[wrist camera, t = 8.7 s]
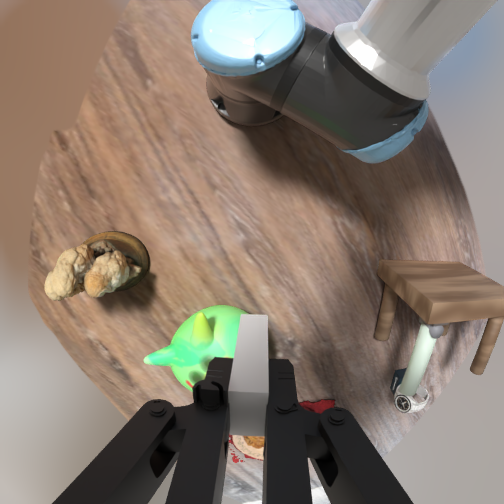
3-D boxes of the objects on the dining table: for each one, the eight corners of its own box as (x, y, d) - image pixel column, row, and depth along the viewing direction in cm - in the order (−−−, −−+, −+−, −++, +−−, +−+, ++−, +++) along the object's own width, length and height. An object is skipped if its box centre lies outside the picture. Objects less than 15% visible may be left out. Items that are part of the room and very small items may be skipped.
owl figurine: (86, 294, 55) (39, 331, 38) (69, 241, 52) (14, 265, 35) (157, 283, 53) (118, 325, 37) (140, 222, 50) (91, 243, 34)
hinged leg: (417, 312, 36) (431, 326, 32) (433, 311, 36) (448, 324, 32) (395, 383, 39) (404, 400, 35) (410, 381, 39) (420, 397, 35)
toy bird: (222, 379, 58) (212, 429, 44) (160, 330, 56) (133, 372, 41) (284, 329, 54) (290, 377, 40) (218, 270, 52) (202, 305, 38)
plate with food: (218, 402, 61) (216, 413, 58) (334, 396, 59) (336, 406, 55) (233, 458, 67) (232, 467, 64) (327, 453, 65) (329, 462, 62)
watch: (387, 371, 56) (404, 402, 46) (417, 366, 56) (436, 394, 45) (382, 389, 58) (397, 420, 47) (411, 384, 57) (428, 413, 47)
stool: (379, 259, 50) (433, 303, 31) (459, 261, 50) (520, 296, 30) (366, 331, 54) (403, 395, 35) (443, 326, 53) (491, 375, 34)
